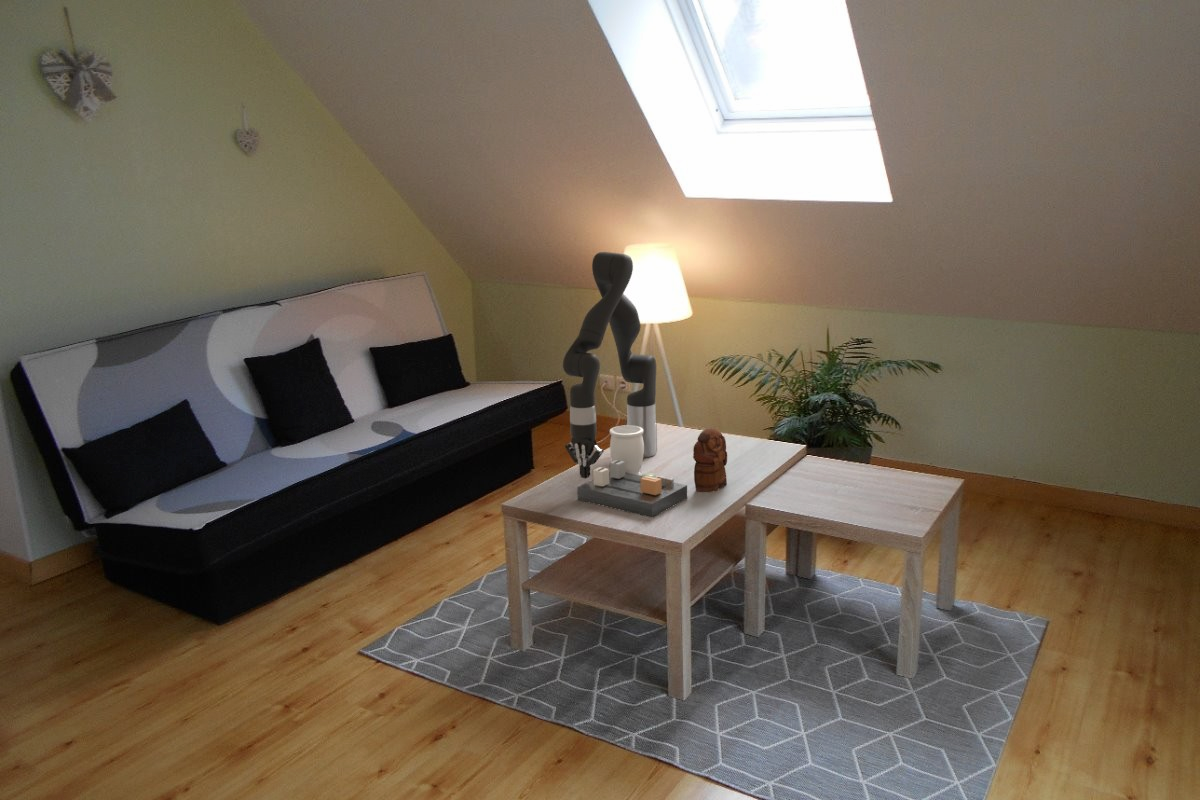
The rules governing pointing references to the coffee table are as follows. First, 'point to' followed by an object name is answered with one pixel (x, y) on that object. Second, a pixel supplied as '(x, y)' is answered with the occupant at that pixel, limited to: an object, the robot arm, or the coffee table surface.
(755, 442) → the coffee table surface
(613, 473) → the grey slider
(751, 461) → the coffee table surface
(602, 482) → the ivory slider
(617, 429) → the jar
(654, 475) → the pale green dome
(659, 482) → the tan box with strip
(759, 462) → the coffee table surface
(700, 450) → the wooden figurine
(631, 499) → the panel
